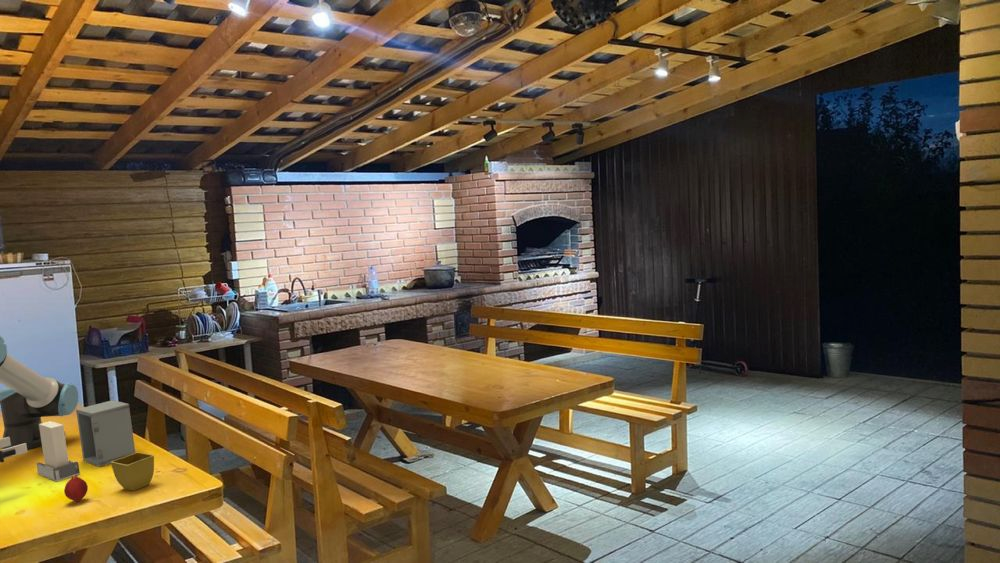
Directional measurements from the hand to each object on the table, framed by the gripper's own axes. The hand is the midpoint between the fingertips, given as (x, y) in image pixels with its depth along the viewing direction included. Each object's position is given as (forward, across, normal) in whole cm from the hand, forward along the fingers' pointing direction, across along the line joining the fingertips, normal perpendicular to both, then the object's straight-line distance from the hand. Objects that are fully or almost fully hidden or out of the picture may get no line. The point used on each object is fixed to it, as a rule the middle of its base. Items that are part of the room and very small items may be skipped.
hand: (18, 444), depth 231 cm
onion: (+2, +33, -13) cm, 35 cm away
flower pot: (+17, +38, -13) cm, 43 cm away
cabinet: (+26, 0, -13) cm, 29 cm away
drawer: (+10, 0, -13) cm, 17 cm away
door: (+10, 0, -13) cm, 16 cm away
